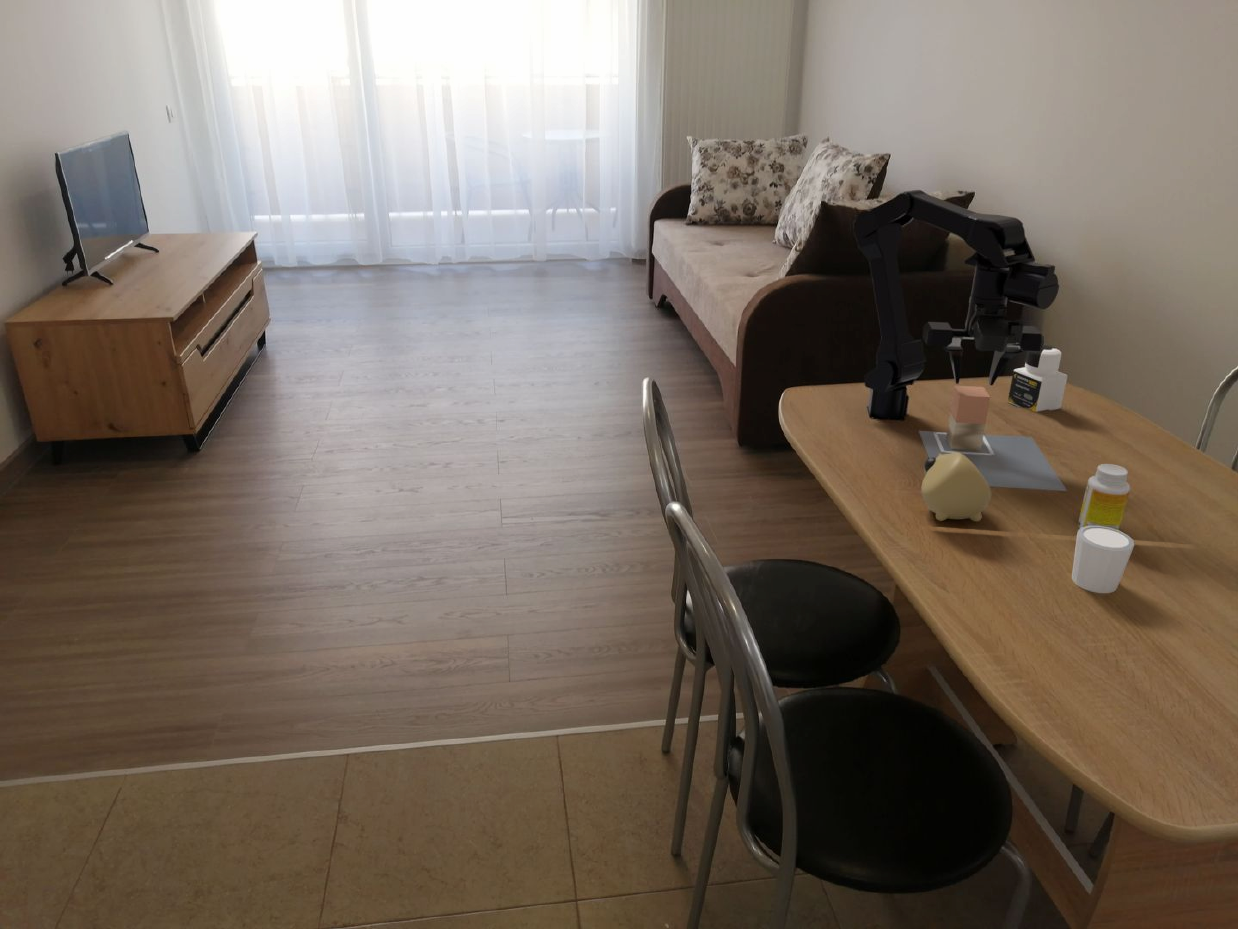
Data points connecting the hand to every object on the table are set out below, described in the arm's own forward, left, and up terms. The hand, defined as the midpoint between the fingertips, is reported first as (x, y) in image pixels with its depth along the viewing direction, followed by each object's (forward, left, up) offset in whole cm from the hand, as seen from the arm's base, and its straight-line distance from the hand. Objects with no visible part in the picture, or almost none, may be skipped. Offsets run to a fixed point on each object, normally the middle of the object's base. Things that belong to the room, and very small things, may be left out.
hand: (973, 383), depth 162 cm
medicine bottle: (+18, +23, -12) cm, 32 cm away
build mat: (+3, -6, -12) cm, 14 cm away
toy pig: (-7, -27, -12) cm, 30 cm away
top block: (0, 0, -6) cm, 6 cm away
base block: (0, 0, -11) cm, 11 cm away
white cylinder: (+9, -44, -12) cm, 47 cm away
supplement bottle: (+14, -29, -12) cm, 34 cm away
